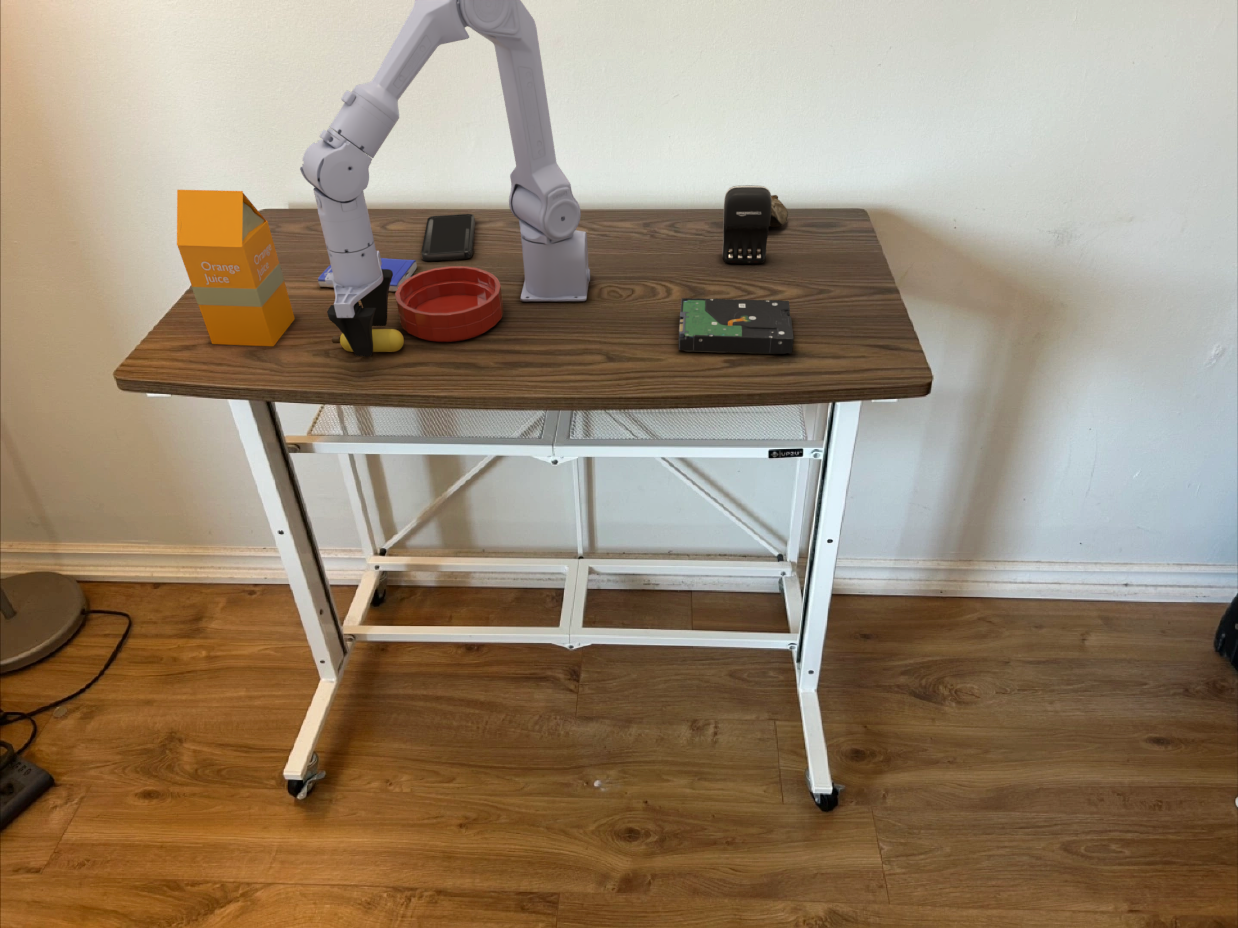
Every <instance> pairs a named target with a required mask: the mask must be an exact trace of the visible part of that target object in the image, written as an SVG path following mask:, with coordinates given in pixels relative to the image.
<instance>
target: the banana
mask: <svg viewBox="0 0 1238 928" xmlns="http://www.w3.org/2000/svg"><path fill="white" fill-rule="evenodd" d="M372 337H373V353H395V352H398V351H400V350H401V349H402V348H403V346H404V343H405V339H404V336H403V334H402V333H401V331H399V330H397V329H395V328H372ZM331 342H332V344H340V346H341V348H342V349H343V350H345V351H347V352H349V353H354V352H353V350H352V348H351V346H350V345H349V343H348V341H347V339H346V338H345V336H344V334H343V333H342V332H341V334H340V335H339V336H335V335H333V336H332V337H331Z"/></svg>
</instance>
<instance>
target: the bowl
mask: <svg viewBox="0 0 1238 928" xmlns="http://www.w3.org/2000/svg"><path fill="white" fill-rule="evenodd" d="M394 296H395V301H396V306H397V311H398V317H399V321H400V325H401V328H402V329H403V330H404V331H405V332H406V333H407V334H409V335H412V336H414V337H417V338H418V339H421V340H424V341H429V342H436V343H451V342H460V341H465V340H469V339H473V338H476V337H478V336H481V335H482V334H484V333H486V332H488V331H489V330H491V329H492V328H493V327H495V326H496V325H497V324H498V323H499V322H500V320H501V319H502V318H503V315H504V303H503V293H502V285H501V283H500V280H499V278H498V277H497V276H495V275H494V274H493V273H492V272H490V271H487V270H485V269H482V268H479V267H473V266H472V267H471V266H466V265H465V266H463V265H462V266H461V265H458V266H457V265H455V266H453V265H452V266H449V265H448V266H442V267H441V266H440V267H435V268H431V269H427V270H424V271H421V272H417V273H416V274H414V275H411V277H410V278H408V279H406V280H405V281H404V282H403V283H402V284H400V285H399V287H398V289H397V291H395V294H394Z"/></svg>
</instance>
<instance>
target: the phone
mask: <svg viewBox="0 0 1238 928" xmlns="http://www.w3.org/2000/svg"><path fill="white" fill-rule="evenodd" d="M475 228H476V218H475V215H474V214H472V213H462V214H461V213H460V214H459V213H458V214H443V215H442V214H441V215H431V216H429V217H428V218H427V220H426V225H425V230H424V235H423V241H422V247H421V252H420V253H421V258H422V259H421V260H423V261H425V262H436V261H438V262H439V261H440V262H441V261H454V260H457V261H458V260H468V259H471V258H472V257H473V253H474V252H473V250H474V240H475V239H474V238H475V230H476V229H475Z"/></svg>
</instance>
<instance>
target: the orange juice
mask: <svg viewBox="0 0 1238 928" xmlns="http://www.w3.org/2000/svg"><path fill="white" fill-rule="evenodd" d="M176 246H177V249H178V251H179V254H180V257H181V260H182V262H183V266H184V269H185V271H186V274H187V277H188V280H189V283H190V285H191V289H192V292H193V295H194V298H195V301H196V303H197V305H198V309H199V310H200V313H201V316H202V319H203V322H204V325H205V328H206V331H207V333H208V337H209V339H210V342H211V345H224V346H225V345H229V346H251V347H252V346H256V347H274V346H276V344H277V343H278V341H279V340H280V339H281V338H282V336H283V335H284V334H285V333H286V331H287V330H288V328H289V327H290V326H291V324H292V323H293V322H294V321H295V319H296V318H295V314H294V311H293V307H292V303H291V300H290V296H289V293H288V289H287V286H286V282H285V277H284V272H283V270H282V266H281V262H280V261H279V257H278V253H277V249H276V246H275V243H274V239H273V236H272V232H271V227H270V225H269V221H268V220H267V219H266V218H265V217H264V216H263V215H262V214H261V213H260V211H259V210H258V209H257V207H256V206H255V205H254V204H253V202H252V201H251V200H250V199H249V198H248V197H247V195H245V193H244V191H243V190H218V189H217V190H216V189H215V190H214V189H213V190H212V189H211V190H210V189H176Z"/></svg>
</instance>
